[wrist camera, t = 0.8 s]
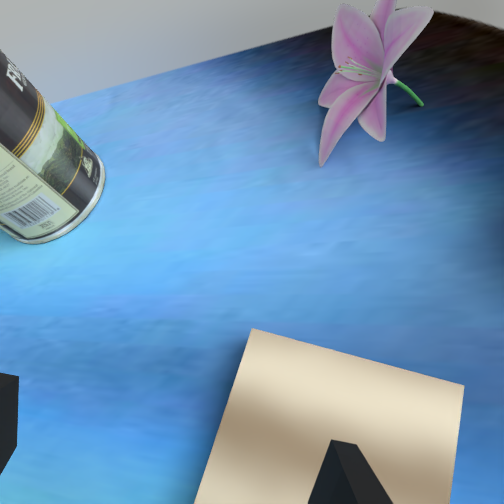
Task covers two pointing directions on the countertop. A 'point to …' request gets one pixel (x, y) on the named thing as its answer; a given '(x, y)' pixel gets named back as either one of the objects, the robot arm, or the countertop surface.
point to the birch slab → (329, 425)
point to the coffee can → (41, 165)
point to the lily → (366, 67)
